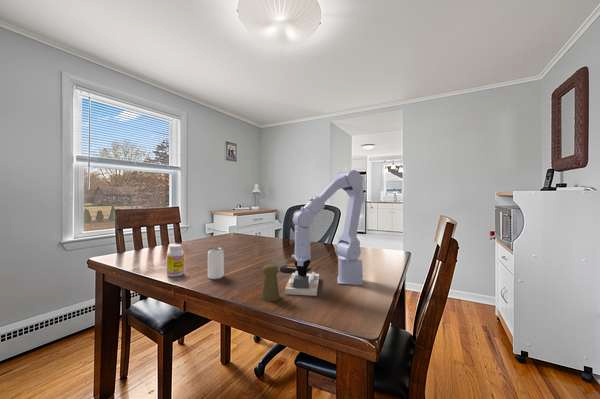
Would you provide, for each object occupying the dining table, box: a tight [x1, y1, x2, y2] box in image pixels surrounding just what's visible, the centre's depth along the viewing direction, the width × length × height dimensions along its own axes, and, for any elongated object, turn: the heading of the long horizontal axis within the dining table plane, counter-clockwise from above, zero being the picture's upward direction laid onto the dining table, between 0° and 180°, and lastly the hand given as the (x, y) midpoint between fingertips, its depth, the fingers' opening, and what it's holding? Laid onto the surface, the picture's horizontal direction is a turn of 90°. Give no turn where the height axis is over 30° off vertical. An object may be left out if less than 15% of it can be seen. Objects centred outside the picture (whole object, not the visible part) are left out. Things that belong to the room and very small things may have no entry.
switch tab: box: [294, 275, 309, 288], centre depth 89 cm, size 5×4×3 cm
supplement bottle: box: [166, 243, 185, 278], centre depth 109 cm, size 7×7×13 cm
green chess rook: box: [261, 263, 280, 302], centre depth 84 cm, size 6×6×11 cm
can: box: [207, 247, 225, 280], centre depth 106 cm, size 6×6×12 cm
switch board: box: [284, 271, 320, 296], centre depth 95 cm, size 11×18×4 cm, turn 173°
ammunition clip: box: [279, 263, 311, 274], centre depth 117 cm, size 11×2×12 cm
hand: (302, 280), depth 92 cm, fingers closed
